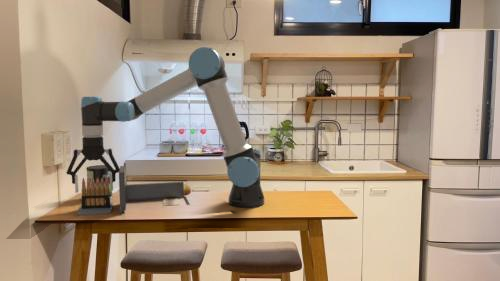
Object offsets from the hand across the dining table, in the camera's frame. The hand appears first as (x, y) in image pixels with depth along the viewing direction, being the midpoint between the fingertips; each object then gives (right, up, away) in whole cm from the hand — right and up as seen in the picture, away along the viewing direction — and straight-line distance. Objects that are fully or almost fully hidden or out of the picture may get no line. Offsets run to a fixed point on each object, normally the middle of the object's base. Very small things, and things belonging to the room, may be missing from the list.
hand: (94, 191), depth 153 cm
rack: (+23, -7, +5) cm, 25 cm away
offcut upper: (+29, -6, +6) cm, 30 cm away
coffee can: (-5, -6, +19) cm, 20 cm away
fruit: (+29, -6, +23) cm, 37 cm away
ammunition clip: (0, -7, +1) cm, 7 cm away
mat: (0, -7, +1) cm, 7 cm away
